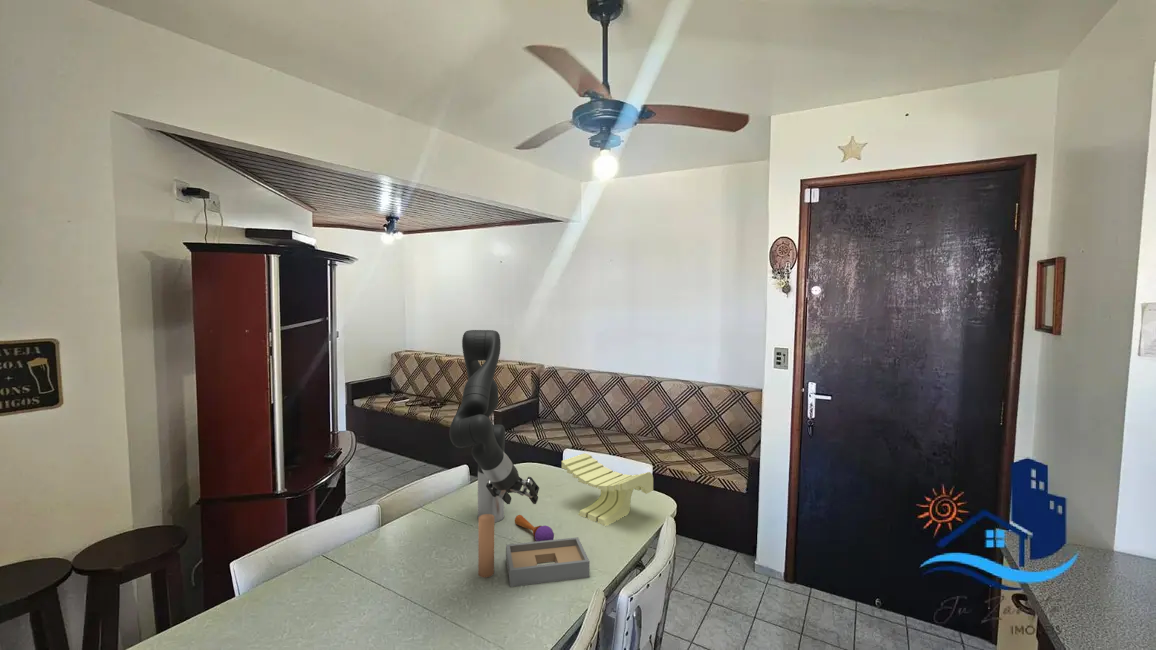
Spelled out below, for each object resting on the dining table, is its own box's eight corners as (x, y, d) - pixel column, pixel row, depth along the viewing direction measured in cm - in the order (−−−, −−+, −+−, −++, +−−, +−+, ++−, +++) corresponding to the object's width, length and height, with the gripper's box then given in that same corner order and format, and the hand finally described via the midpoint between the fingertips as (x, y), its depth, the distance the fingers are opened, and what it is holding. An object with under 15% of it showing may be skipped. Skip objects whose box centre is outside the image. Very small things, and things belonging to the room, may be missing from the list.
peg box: (505, 559, 141) (506, 544, 141) (577, 551, 146) (578, 537, 146) (510, 586, 128) (510, 570, 127) (589, 577, 133) (589, 561, 132)
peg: (478, 569, 136) (478, 514, 135) (493, 567, 137) (494, 513, 136) (478, 578, 131) (478, 521, 131) (494, 576, 132) (494, 520, 132)
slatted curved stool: (652, 519, 169) (653, 469, 168) (625, 534, 157) (626, 481, 157) (589, 495, 189) (589, 451, 189) (561, 507, 178) (561, 460, 177)
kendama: (527, 510, 166) (558, 528, 150) (525, 528, 165) (556, 548, 149) (512, 511, 163) (542, 529, 147) (510, 529, 162) (540, 549, 146)
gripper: (526, 456, 128) (547, 489, 138) (481, 458, 133) (504, 490, 143) (518, 480, 123) (541, 513, 132) (471, 481, 128) (497, 513, 137)
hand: (522, 501), depth 137 cm, fingers open, 8 cm apart
